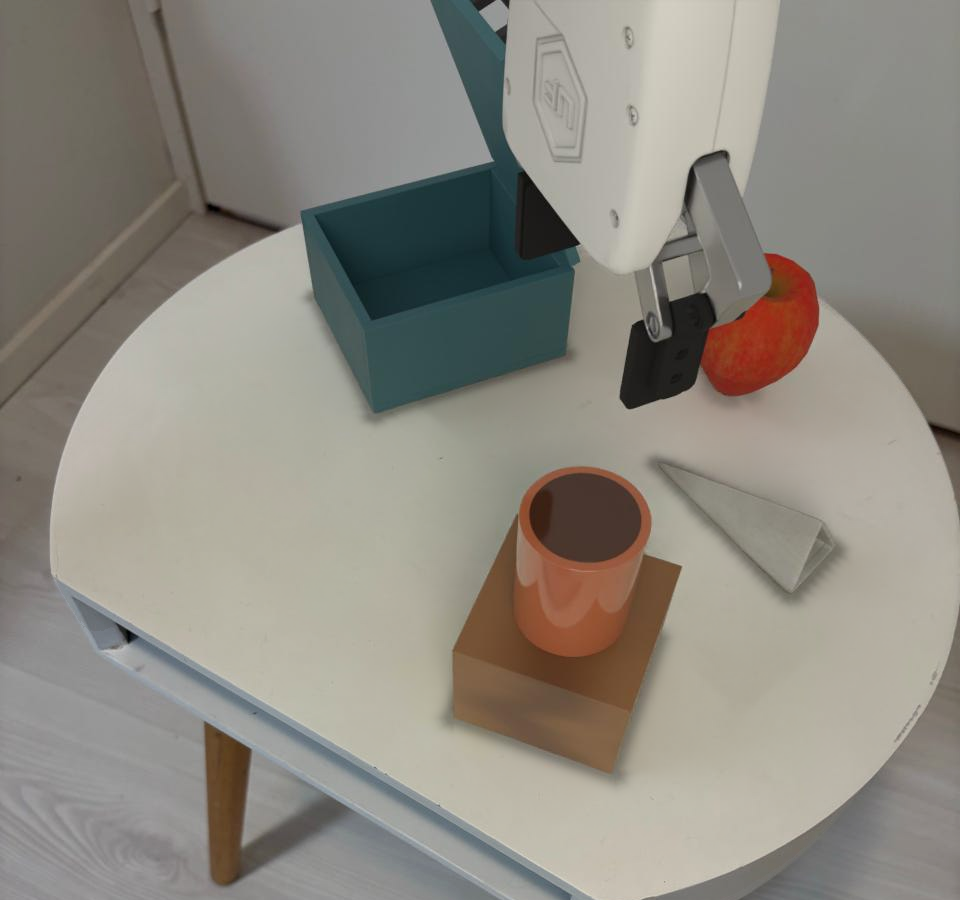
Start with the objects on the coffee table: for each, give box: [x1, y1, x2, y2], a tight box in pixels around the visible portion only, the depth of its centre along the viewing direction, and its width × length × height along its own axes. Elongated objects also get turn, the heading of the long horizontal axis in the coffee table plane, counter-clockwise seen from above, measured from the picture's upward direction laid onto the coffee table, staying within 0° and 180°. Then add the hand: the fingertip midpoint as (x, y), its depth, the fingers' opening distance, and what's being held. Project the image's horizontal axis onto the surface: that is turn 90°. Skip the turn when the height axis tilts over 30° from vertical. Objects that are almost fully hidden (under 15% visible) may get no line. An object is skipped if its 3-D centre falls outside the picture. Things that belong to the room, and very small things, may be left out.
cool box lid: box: [429, 0, 581, 268], centre depth 65 cm, size 16×14×5 cm
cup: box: [512, 465, 653, 657], centre depth 51 cm, size 6×6×8 cm
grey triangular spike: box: [658, 462, 837, 595], centre depth 68 cm, size 6×5×13 cm
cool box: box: [299, 160, 576, 414], centre depth 74 cm, size 16×14×8 cm
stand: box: [451, 513, 683, 775], centre depth 58 cm, size 10×10×8 cm
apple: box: [700, 252, 820, 397], centre depth 70 cm, size 9×8×11 cm
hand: (599, 318), depth 42 cm, fingers open, 9 cm apart
